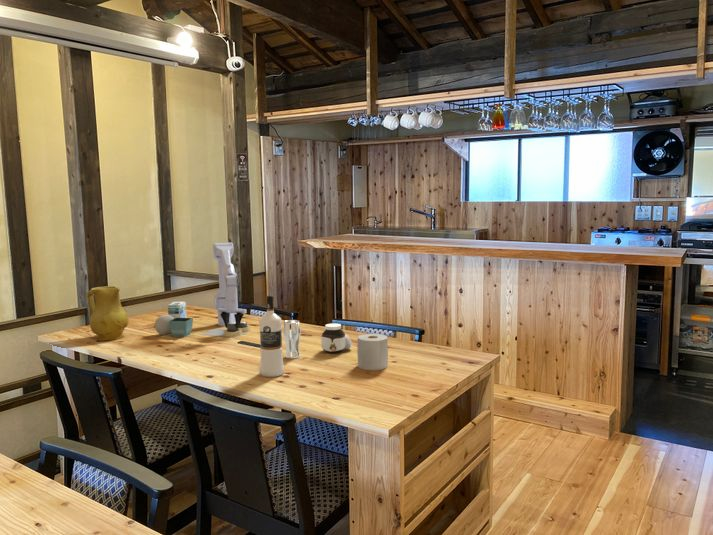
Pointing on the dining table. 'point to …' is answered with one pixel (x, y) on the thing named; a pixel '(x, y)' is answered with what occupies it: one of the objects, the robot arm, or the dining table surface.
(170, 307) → the light bulb box
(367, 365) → the toilet paper roll
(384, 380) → the dining table surface
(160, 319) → the ball
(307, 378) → the dining table surface
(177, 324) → the flower pot
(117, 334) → the pitcher
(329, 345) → the spread jar
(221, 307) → the robot arm
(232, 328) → the cap
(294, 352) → the beer glass
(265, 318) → the vodka
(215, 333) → the board
